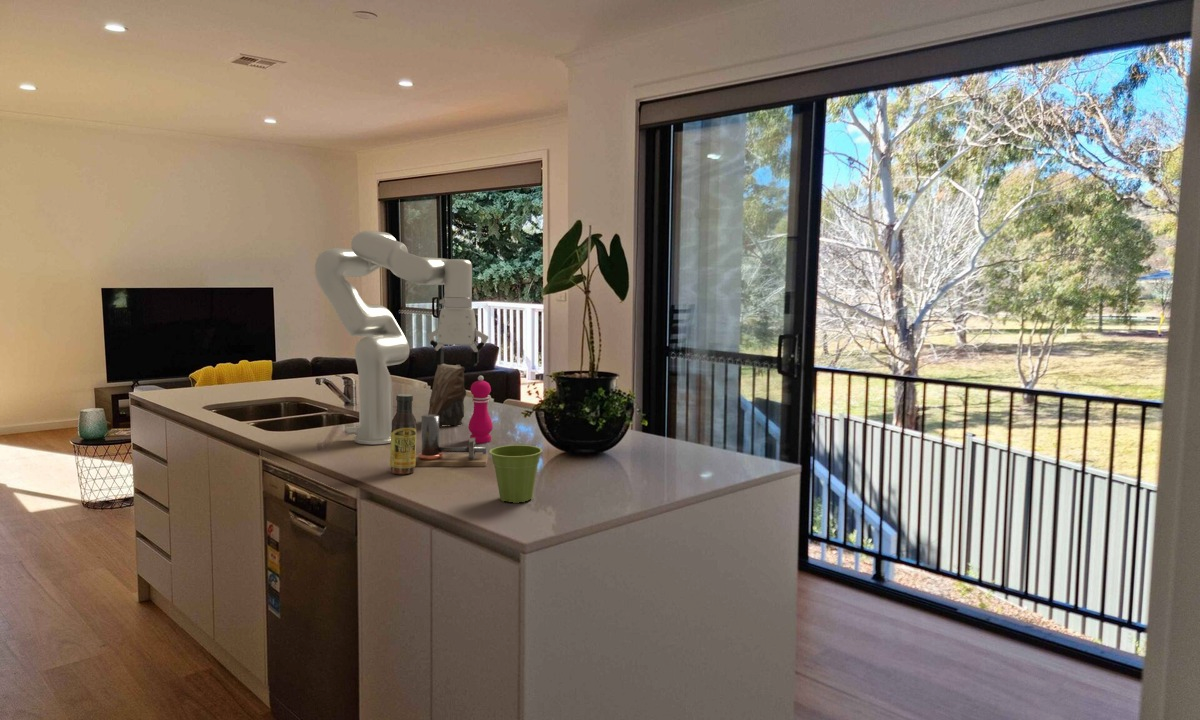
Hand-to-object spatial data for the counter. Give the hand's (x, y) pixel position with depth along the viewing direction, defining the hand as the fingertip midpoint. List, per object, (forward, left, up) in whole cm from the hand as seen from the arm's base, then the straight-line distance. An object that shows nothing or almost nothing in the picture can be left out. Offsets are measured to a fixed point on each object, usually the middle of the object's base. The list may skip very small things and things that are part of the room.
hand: (457, 365), depth 220 cm
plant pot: (+18, -47, -25) cm, 57 cm away
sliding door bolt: (0, -12, -23) cm, 27 cm away
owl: (-10, +42, -25) cm, 49 cm away
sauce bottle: (-11, -23, -25) cm, 36 cm away
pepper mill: (+5, +15, -25) cm, 29 cm away
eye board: (-2, -12, -25) cm, 28 cm away
